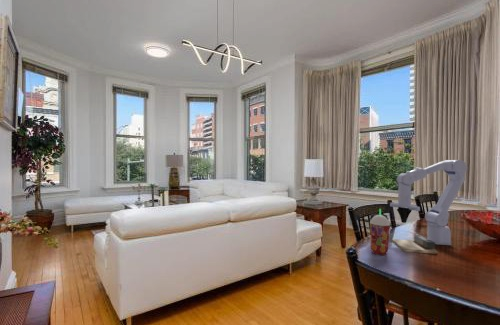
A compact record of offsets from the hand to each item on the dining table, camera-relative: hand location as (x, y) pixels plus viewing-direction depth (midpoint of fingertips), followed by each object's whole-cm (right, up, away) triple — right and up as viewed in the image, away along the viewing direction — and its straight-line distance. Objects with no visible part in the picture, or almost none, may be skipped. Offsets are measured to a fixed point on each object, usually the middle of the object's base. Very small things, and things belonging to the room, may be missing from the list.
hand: (403, 222), depth 139 cm
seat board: (-1, -10, -9) cm, 13 cm away
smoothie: (-22, -10, -18) cm, 30 cm away
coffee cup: (-17, -10, -7) cm, 21 cm away
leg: (+4, -8, -10) cm, 14 cm away
